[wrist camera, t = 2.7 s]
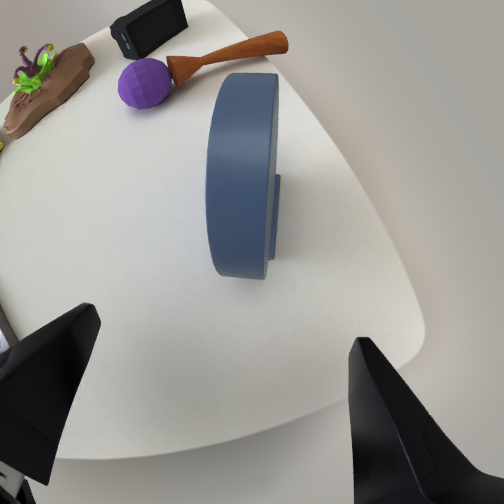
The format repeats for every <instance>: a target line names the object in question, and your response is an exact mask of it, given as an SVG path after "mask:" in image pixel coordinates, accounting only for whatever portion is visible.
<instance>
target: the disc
mask: <svg viewBox="0 0 504 504" xmlns="http://www.w3.org/2000/svg"><path fill="white" fill-rule="evenodd" d="M278 109H279V80H278V75H277V74H272V73H232V74H229V75H228V76H227V77H226V78H225V80H224V82H223V83H222V86H221V88H220V91H219V93H218V96H217V100H216V103H215V107H214V111H213V116H212V121H211V127H210V133H209V140H208V149H207V161H206V182H205V203H206V223H207V233H208V241H209V247H210V252H211V257H212V260H213V264H214V266H215V269H216V271H217V272H218V273H219V274H220V275H221V276H227V277H237V278H248V279H259V280H264V279H265V277H266V272H267V266H268V259H272V260H273V259H274V256H275V244H276V232H277V219H278V205H279V191H280V175H276V158H277V138H278Z"/></svg>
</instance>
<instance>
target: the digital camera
mask: <svg viewBox="0 0 504 504" xmlns="http://www.w3.org/2000/svg"><path fill="white" fill-rule="evenodd" d="M187 27H188V24H187V20H186V17H185V13H184V9H183V5H182V2H181V0H151V1H149V2H147V3H146V4H144V5H142V6H140V7H139V8H137V9H135V10H134V11H132V12H131V13H129V14H128V15H126V16H123V17H120V18H118V19H117V20H116V21H115V22H114V23H113V24H112V25H111V26H110V29H111V36H112V37H113V39H115V40H116V41H117V43H118V45H119V47H120V49H121V51H122V53H123V55H124V57H125V58H129V59H134V60H139V59H143V58H144V57H146V56H147V55H148V54H150V53H151V52H152V51H154V50H155V49H156V48H158V47H159V46H160V45H162V44H163V43H165V42H166V41H167V40H169V39H170V38H172V37H173V36H175V35H176V34H178V33H179V32H181V31H182V30H184V29H185V28H187Z"/></svg>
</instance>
